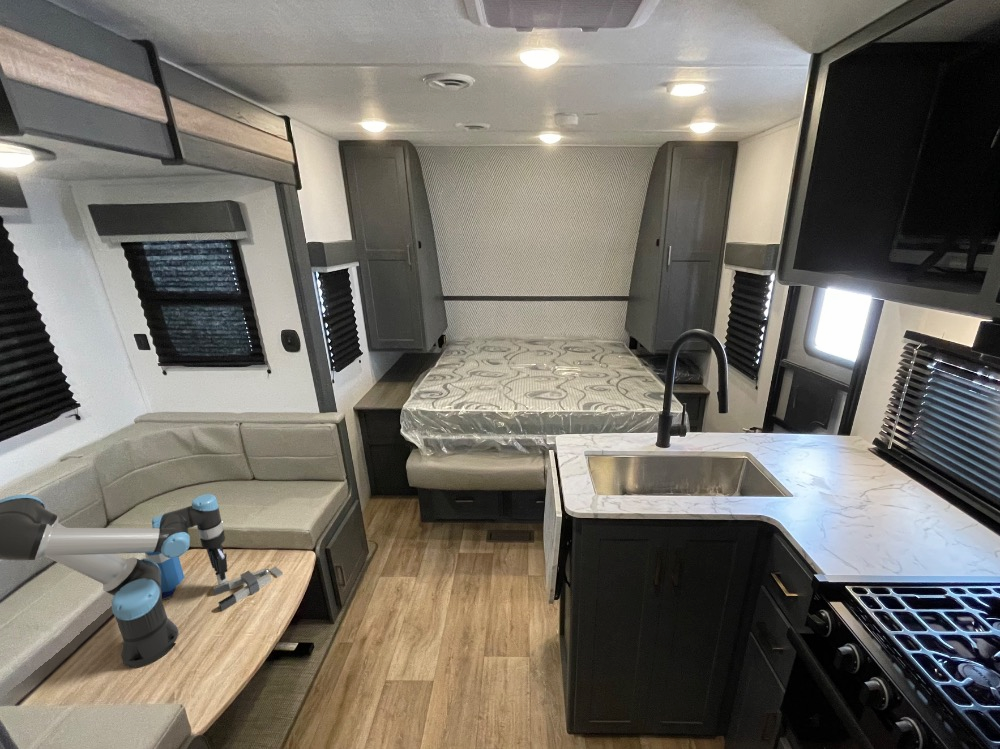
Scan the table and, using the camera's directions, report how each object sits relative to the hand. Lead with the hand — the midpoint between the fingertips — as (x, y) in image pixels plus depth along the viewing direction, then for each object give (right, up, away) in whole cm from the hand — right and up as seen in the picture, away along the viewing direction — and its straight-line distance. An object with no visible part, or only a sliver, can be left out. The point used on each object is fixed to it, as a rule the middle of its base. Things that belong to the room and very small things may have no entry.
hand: (223, 584), depth 167 cm
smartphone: (-19, -3, +1) cm, 20 cm away
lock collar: (+11, -1, -1) cm, 11 cm away
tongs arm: (+7, -1, +1) cm, 7 cm away
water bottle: (-23, -2, +4) cm, 24 cm away
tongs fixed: (+11, -1, -1) cm, 11 cm away
